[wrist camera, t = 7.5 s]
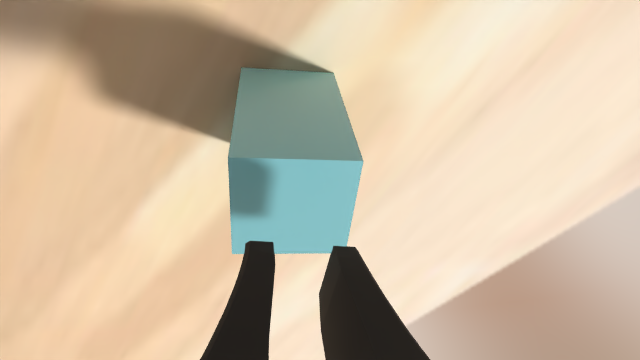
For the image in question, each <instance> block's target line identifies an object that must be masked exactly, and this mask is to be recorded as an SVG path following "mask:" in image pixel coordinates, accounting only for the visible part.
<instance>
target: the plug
mask: <svg viewBox="0 0 640 360" xmlns="http://www.w3.org/2000/svg"><path fill="white" fill-rule="evenodd" d="M362 165H363V159H362V156H361V153H360V150H359V147H358V144H357V141H356V138H355V135H354V132H353V129H352V126H351V123H350V120H349V117H348V114H347V111H346V108H345V106H344V103H343V100H342V97H341V94H340V91H339V88H338V85H337V82H336V79H335V76H334V73H327V72H310V71H293V70H276V69H259V68H242V67H241V73H240V80H239V87H238V94H237V100H236V107H235V114H234V121H233V127H232V134H231V141H230V148H229V154H228V168H229V192H230V216H231V239H232V254H244V251H245V243H247V242H249V241H265V242H273V244H274V254H286V253H331V252H332V249H333V246H347V241H348V236H349V231H350V226H351V221H352V216H353V211H354V206H355V201H356V196H357V191H358V186H359V180H360V175H361V170H362Z"/></svg>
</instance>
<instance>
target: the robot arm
mask: <svg viewBox="0 0 640 360" xmlns="http://www.w3.org/2000/svg"><path fill="white" fill-rule="evenodd" d="M274 273H275V254H274V244H273V242H265V241H249V242H247V243H245V251H244V257H243V261H242V265H241V268H240V271H239V274H238V277H237V280H236V283H235V286H234V288H233V291H232V293H231V296H230V298H229V301H228V303H227V306H226V308H225V310H224V313H223V315H222V317H221V319H220V321H219V323H218V325H217V327H216V330H215V332H214V334H213V336H212V338H211V340H210V342H209V344H208V346H207V348H206V350H205V352H204V353H203V355H202V357H201V359H200V360H269V355H268V353H269V331H270V320H271V308H272V297H273V285H274ZM319 301H320V321H321V333H322V339H323V346H324V352H325V358H326V360H430V359H429V357H428V356H427V355H426V354H425V352H424V351H423V350H422V349H421V347H420V346H419V344H418V343H417V342H416V340H415V339H414V338H413V336H412V335H411V334H410V332H409V331H408V329H407V328H406V327H405V325H404V324H403V322H402V321H401V319H400V318H399V316H398V315H397V313H396V312H395V310H394V309H393V307H392V306H391V304H390V303H389V301H388V300H387V298H386V297H385V295H384V294H383V292H382V291H381V289H380V287H379V286H378V284H377V282H376V281H375V279H374V278H373V276H372V274H371V273H370V271H369V269H368V267H367V266H366V264H365V262H364V261H363V259H362V257H361V255H360V254H359V252H358V250H357V249H356V248H355V247H346V246H333V249H332V252H331V255H330V259H329V262H328V266H327V269H326V272H325V276H324V279H323V282H322V286H321V289H320V293H319Z"/></svg>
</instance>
